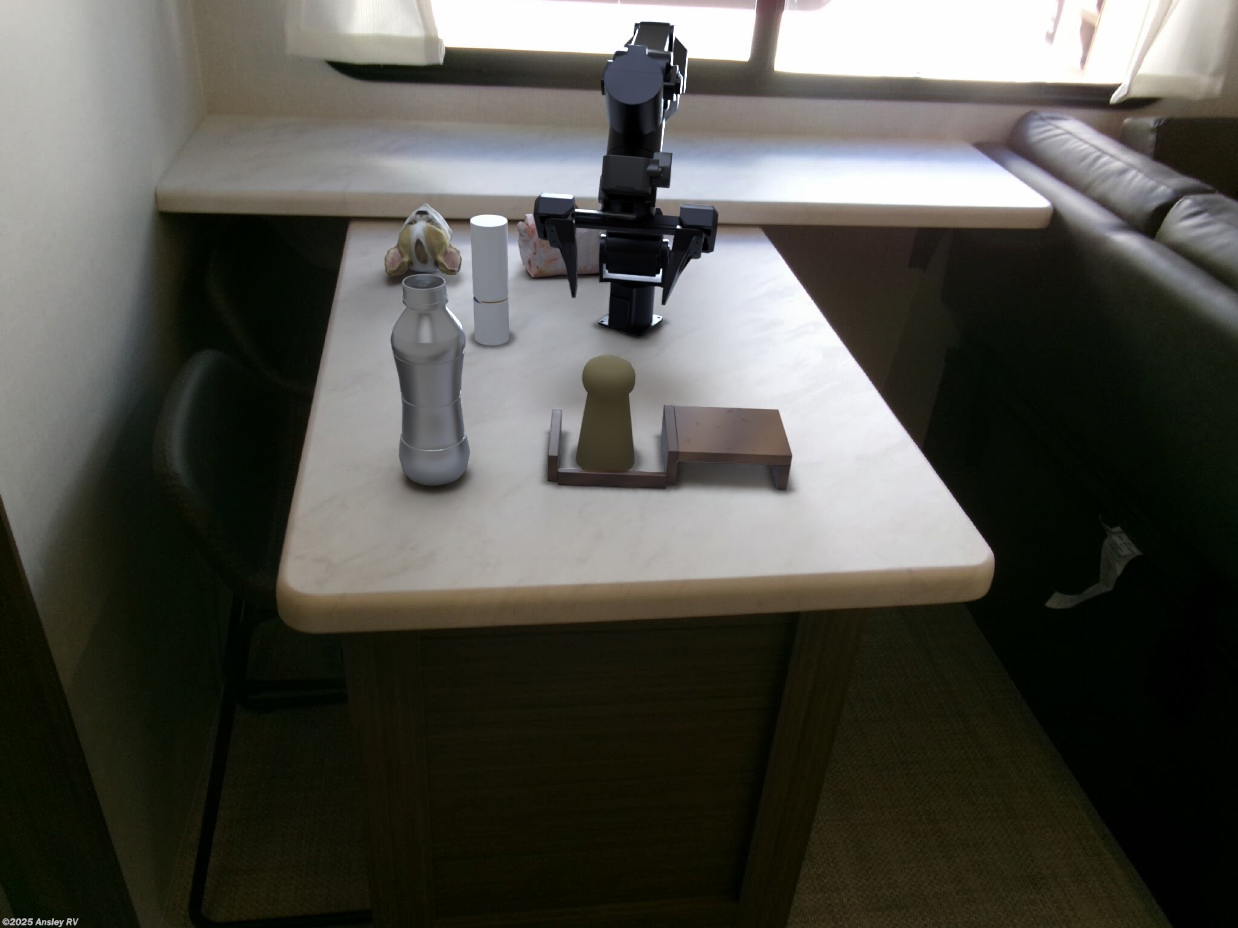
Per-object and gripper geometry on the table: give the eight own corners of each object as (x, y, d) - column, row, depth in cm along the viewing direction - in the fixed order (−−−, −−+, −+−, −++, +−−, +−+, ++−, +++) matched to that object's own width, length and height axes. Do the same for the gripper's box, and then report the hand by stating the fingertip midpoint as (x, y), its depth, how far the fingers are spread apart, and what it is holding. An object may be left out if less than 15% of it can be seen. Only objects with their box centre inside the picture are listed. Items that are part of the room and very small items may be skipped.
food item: (525, 282, 134) (524, 214, 129) (516, 261, 141) (515, 196, 135) (618, 277, 137) (621, 210, 132) (605, 257, 144) (608, 193, 139)
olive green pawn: (628, 478, 93) (634, 379, 87) (569, 469, 94) (571, 370, 88) (639, 447, 98) (646, 351, 92) (583, 439, 99) (586, 343, 93)
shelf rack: (547, 484, 92) (547, 449, 90) (552, 433, 100) (552, 400, 98) (787, 492, 93) (793, 458, 91) (773, 441, 101) (778, 409, 99)
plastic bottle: (404, 457, 95) (387, 267, 84) (472, 457, 95) (465, 268, 84) (397, 494, 89) (378, 296, 78) (469, 494, 90) (461, 297, 79)
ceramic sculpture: (461, 192, 139) (458, 233, 127) (464, 248, 144) (462, 292, 132) (387, 192, 137) (377, 233, 125) (393, 248, 142) (384, 293, 130)
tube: (515, 335, 120) (514, 219, 111) (498, 348, 116) (495, 229, 108) (486, 328, 121) (482, 212, 113) (468, 340, 118) (463, 222, 110)
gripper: (536, 110, 92) (516, 259, 89) (727, 124, 92) (715, 274, 88) (547, 170, 103) (530, 304, 100) (719, 183, 102) (707, 318, 99)
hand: (618, 300), depth 96 cm, fingers open, 9 cm apart
